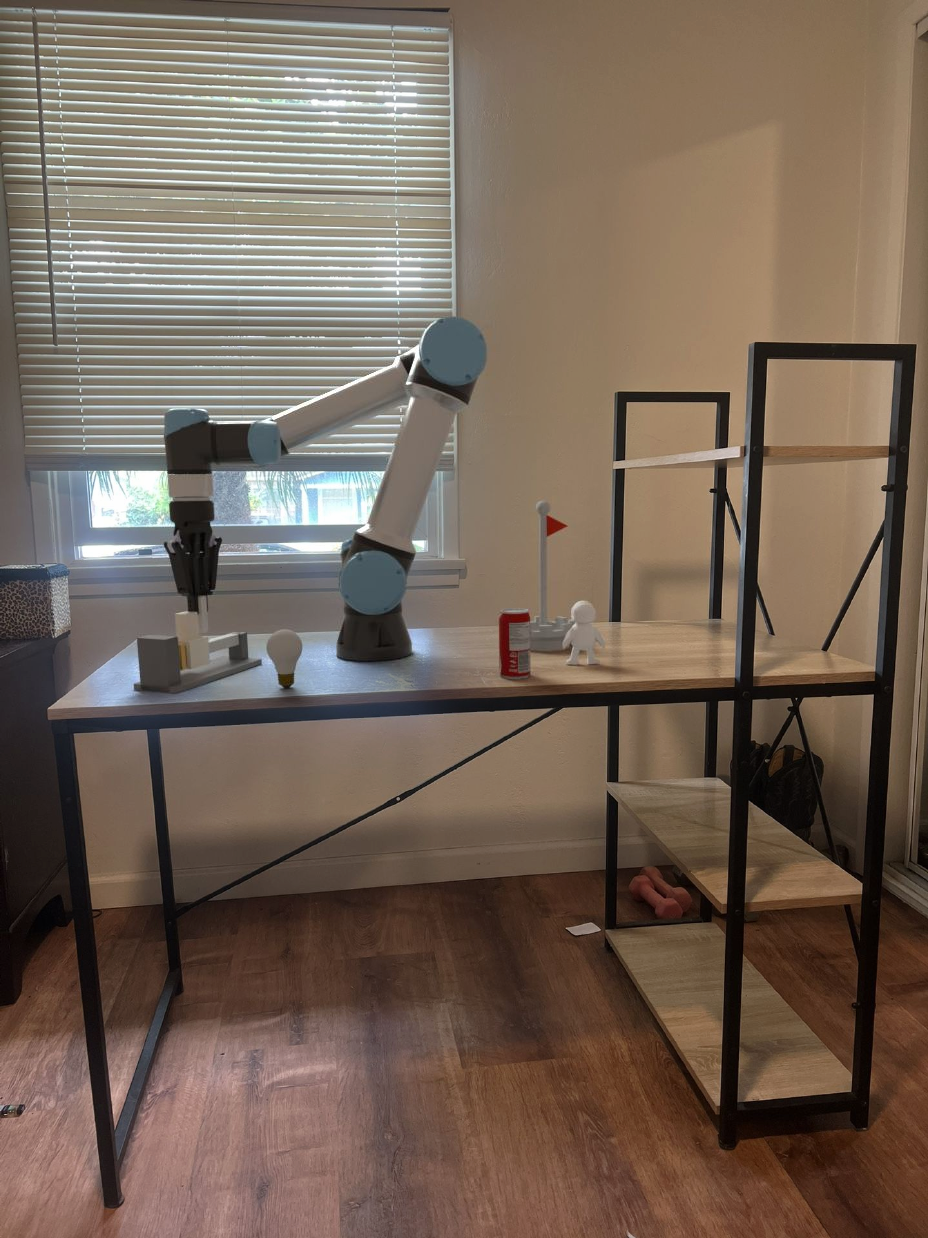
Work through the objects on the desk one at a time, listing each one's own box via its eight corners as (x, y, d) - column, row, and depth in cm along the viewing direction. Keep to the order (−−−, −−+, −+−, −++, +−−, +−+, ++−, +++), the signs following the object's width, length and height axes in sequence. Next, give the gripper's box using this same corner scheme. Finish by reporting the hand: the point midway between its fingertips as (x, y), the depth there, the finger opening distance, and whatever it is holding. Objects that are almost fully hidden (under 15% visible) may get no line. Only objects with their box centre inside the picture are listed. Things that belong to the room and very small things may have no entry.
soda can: (508, 671, 151) (508, 605, 149) (535, 674, 148) (535, 607, 146) (493, 677, 146) (493, 609, 144) (521, 681, 144) (521, 611, 142)
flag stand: (503, 650, 171) (501, 501, 166) (523, 638, 182) (522, 500, 178) (564, 654, 166) (565, 501, 161) (581, 642, 177) (582, 499, 173)
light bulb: (271, 684, 144) (268, 627, 142) (306, 683, 144) (303, 626, 143) (266, 692, 138) (263, 633, 137) (302, 691, 139) (299, 632, 137)
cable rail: (261, 664, 161) (259, 617, 159) (176, 693, 139) (172, 640, 137) (223, 661, 164) (220, 615, 163) (134, 689, 142) (129, 637, 141)
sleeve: (209, 663, 150) (206, 611, 148) (191, 669, 145) (187, 615, 144) (188, 661, 151) (184, 610, 150) (169, 667, 147) (165, 614, 145)
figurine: (563, 667, 153) (563, 602, 151) (559, 662, 158) (559, 599, 156) (606, 666, 154) (607, 601, 152) (601, 661, 158) (602, 598, 156)
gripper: (198, 498, 154) (206, 625, 158) (147, 500, 142) (157, 636, 146) (232, 498, 151) (239, 627, 155) (183, 500, 139) (192, 639, 143)
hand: (199, 631), depth 151 cm, fingers closed
